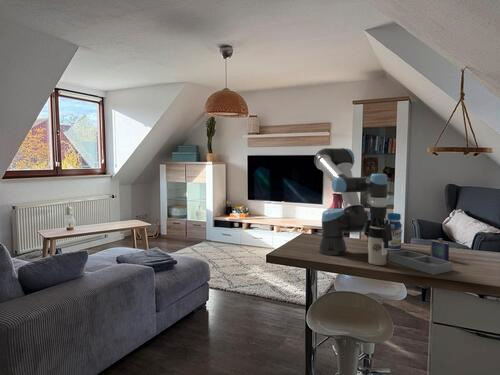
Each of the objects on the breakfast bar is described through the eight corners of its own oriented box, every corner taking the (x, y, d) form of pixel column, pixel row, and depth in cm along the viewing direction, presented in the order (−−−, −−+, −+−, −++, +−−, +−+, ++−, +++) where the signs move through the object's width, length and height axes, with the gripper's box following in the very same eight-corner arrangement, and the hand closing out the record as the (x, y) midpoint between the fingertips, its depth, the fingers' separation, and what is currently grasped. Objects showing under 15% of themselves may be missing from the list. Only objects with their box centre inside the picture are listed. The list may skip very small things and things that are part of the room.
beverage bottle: (392, 246, 192) (393, 212, 191) (404, 249, 184) (405, 214, 183) (382, 247, 188) (382, 213, 187) (393, 251, 181) (394, 215, 179)
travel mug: (371, 259, 165) (372, 224, 164) (388, 262, 160) (389, 226, 159) (365, 263, 159) (366, 226, 158) (382, 266, 154) (383, 228, 153)
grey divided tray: (388, 260, 164) (388, 252, 164) (406, 257, 170) (406, 249, 169) (433, 274, 142) (433, 266, 142) (452, 270, 148) (452, 262, 147)
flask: (429, 257, 169) (430, 236, 168) (433, 256, 170) (434, 236, 170) (446, 262, 161) (447, 240, 160) (450, 261, 162) (451, 240, 161)
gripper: (356, 204, 166) (356, 248, 167) (390, 209, 147) (388, 259, 148) (368, 203, 169) (367, 246, 170) (402, 208, 150) (400, 257, 152)
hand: (377, 252), depth 159 cm, fingers closed on travel mug, 8 cm apart
